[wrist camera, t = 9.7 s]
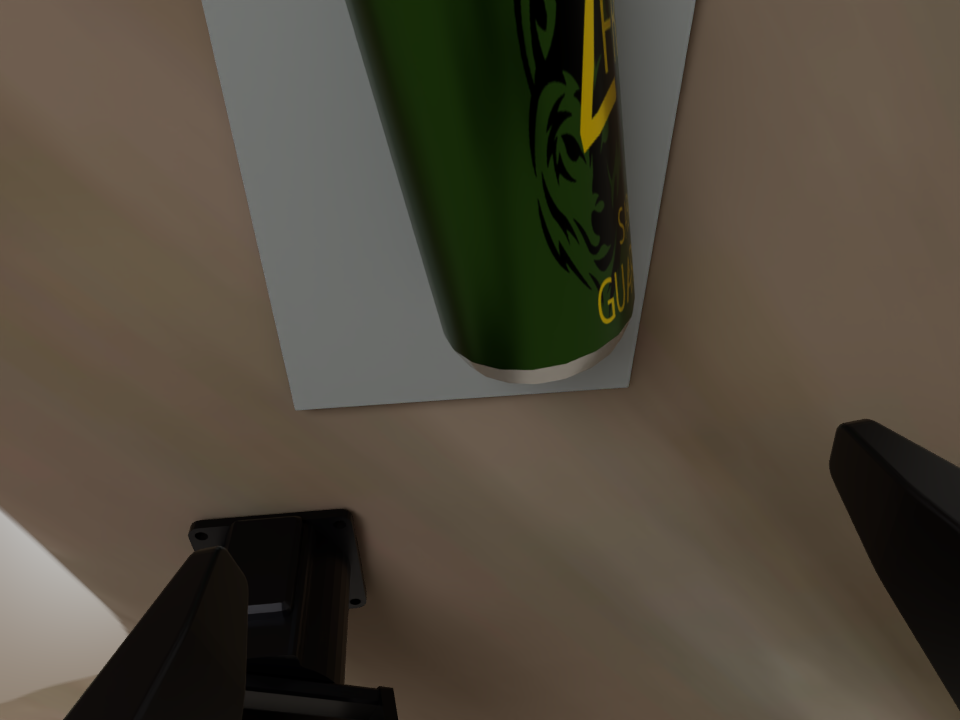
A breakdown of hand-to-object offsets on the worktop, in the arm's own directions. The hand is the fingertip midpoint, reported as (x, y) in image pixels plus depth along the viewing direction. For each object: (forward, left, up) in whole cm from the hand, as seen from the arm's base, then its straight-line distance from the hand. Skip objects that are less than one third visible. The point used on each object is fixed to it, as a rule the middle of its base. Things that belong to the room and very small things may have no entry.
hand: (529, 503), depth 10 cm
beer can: (-4, -2, -9) cm, 10 cm away
